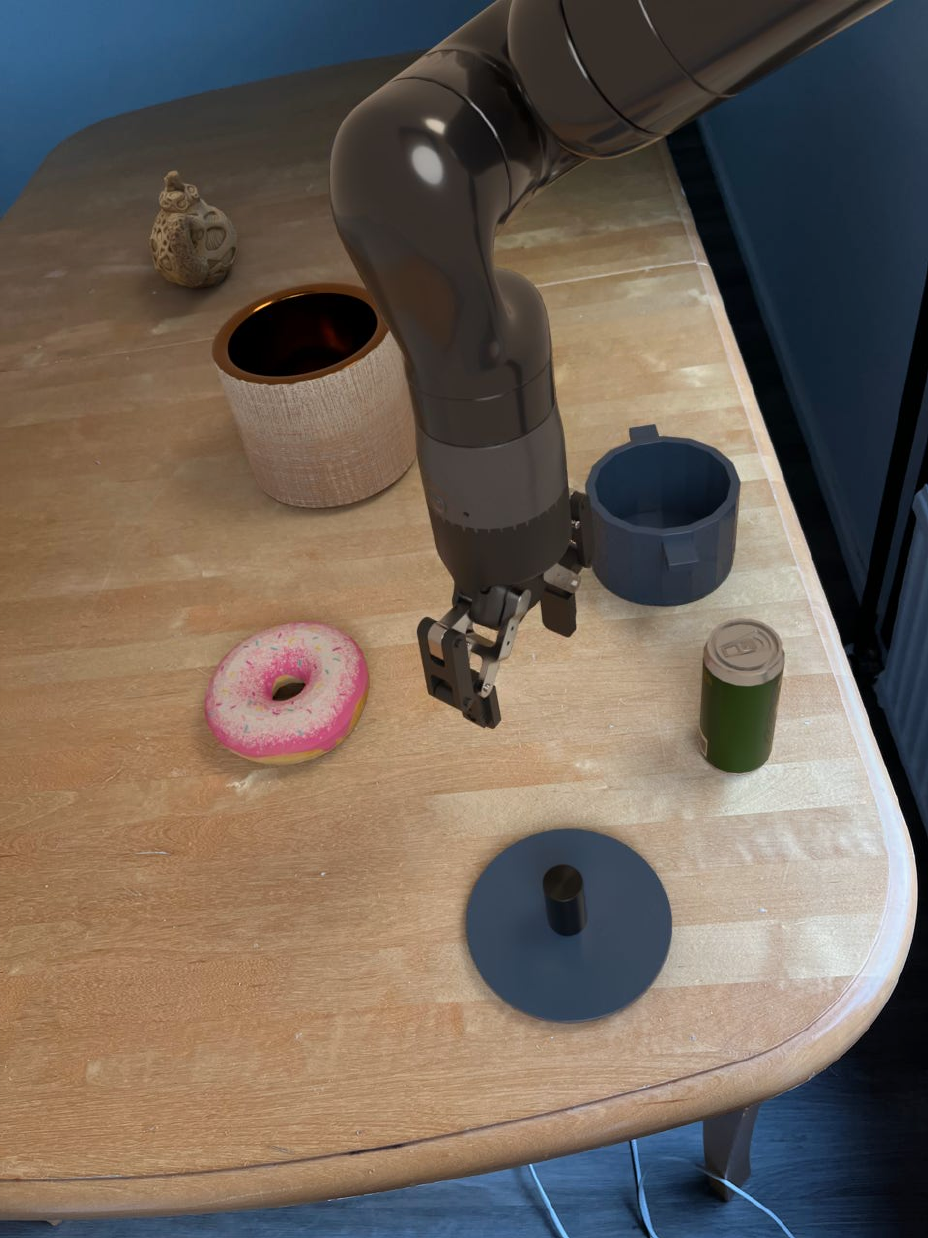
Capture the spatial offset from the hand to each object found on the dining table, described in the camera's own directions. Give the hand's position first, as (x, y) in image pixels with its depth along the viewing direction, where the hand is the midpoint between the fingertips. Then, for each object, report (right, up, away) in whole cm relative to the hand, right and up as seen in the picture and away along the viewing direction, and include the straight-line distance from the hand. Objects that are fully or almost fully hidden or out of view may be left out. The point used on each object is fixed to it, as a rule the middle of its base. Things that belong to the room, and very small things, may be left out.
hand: (523, 673), depth 65 cm
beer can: (+17, -7, +13) cm, 22 cm away
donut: (-18, -4, +21) cm, 28 cm away
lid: (+3, -17, +4) cm, 18 cm away
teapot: (-39, +49, +74) cm, 96 cm away
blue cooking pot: (+14, +9, +27) cm, 32 cm away
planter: (-17, +20, +43) cm, 51 cm away
